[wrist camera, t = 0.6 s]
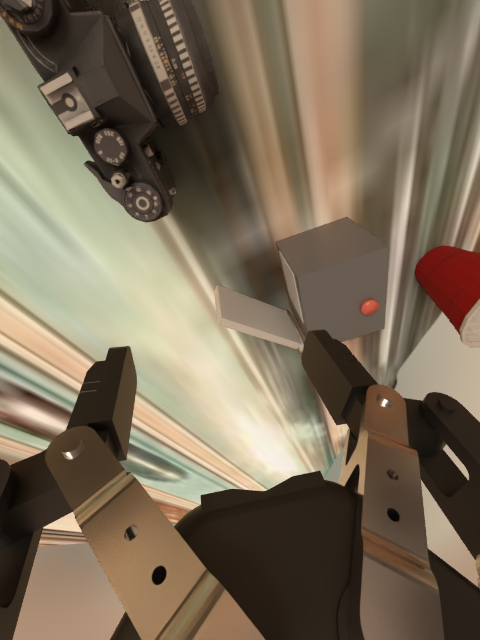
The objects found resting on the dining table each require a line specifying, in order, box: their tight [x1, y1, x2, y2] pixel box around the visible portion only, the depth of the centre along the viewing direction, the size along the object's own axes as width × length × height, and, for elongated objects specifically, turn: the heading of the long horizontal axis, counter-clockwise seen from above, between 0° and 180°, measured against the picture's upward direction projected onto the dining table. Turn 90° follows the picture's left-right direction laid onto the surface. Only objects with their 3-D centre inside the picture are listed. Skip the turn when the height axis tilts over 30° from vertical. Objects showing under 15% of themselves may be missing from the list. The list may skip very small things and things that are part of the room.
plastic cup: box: [415, 246, 480, 347], centre depth 33 cm, size 11×11×12 cm
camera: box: [0, 0, 219, 222], centre depth 19 cm, size 14×11×10 cm
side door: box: [214, 285, 304, 353], centre depth 34 cm, size 1×12×8 cm, turn 62°
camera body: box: [276, 217, 389, 342], centre depth 33 cm, size 9×13×10 cm
